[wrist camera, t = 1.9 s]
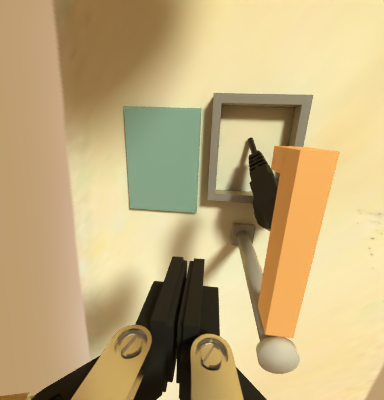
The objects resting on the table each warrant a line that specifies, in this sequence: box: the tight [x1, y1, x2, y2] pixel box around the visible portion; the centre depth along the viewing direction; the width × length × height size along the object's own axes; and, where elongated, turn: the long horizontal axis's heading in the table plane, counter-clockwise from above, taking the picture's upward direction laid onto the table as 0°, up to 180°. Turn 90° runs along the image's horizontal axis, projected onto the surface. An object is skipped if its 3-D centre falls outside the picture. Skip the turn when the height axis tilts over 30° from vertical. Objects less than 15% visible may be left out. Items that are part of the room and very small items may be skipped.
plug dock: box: [207, 93, 313, 341], centre depth 20 cm, size 20×11×18 cm, turn 178°
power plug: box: [248, 138, 279, 231], centre depth 25 cm, size 6×8×12 cm
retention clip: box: [256, 146, 339, 374], centre depth 14 cm, size 15×3×5 cm, turn 178°
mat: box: [124, 106, 201, 213], centre depth 28 cm, size 14×10×1 cm
